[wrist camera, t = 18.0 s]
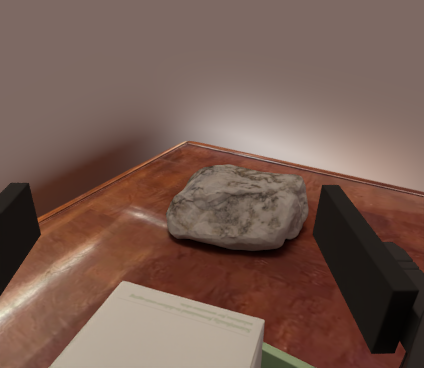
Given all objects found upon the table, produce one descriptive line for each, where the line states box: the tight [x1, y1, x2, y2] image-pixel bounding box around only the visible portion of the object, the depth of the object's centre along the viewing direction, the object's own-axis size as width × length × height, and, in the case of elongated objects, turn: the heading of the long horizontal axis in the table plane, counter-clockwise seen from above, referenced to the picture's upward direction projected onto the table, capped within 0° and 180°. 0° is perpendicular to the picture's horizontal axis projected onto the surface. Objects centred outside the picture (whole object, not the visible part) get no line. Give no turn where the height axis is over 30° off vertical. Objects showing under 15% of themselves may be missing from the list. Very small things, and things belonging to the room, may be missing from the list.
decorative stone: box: [166, 165, 308, 251], centre depth 50 cm, size 20×14×10 cm
